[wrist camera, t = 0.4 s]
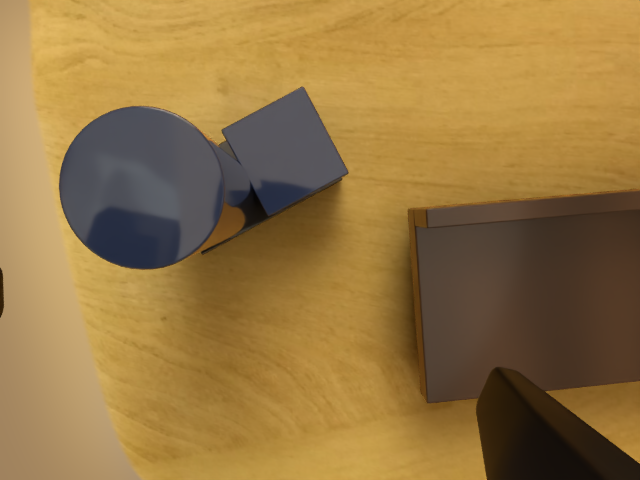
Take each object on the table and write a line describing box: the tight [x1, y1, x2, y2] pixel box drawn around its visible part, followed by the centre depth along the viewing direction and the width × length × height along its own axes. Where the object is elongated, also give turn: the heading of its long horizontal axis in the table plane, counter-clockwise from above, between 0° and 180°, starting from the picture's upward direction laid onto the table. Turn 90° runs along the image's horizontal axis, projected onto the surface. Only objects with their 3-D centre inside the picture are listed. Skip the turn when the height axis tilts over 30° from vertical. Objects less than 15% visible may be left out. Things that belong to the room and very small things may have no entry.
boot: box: [59, 87, 348, 270], centre depth 18 cm, size 8×4×12 cm, turn 118°
